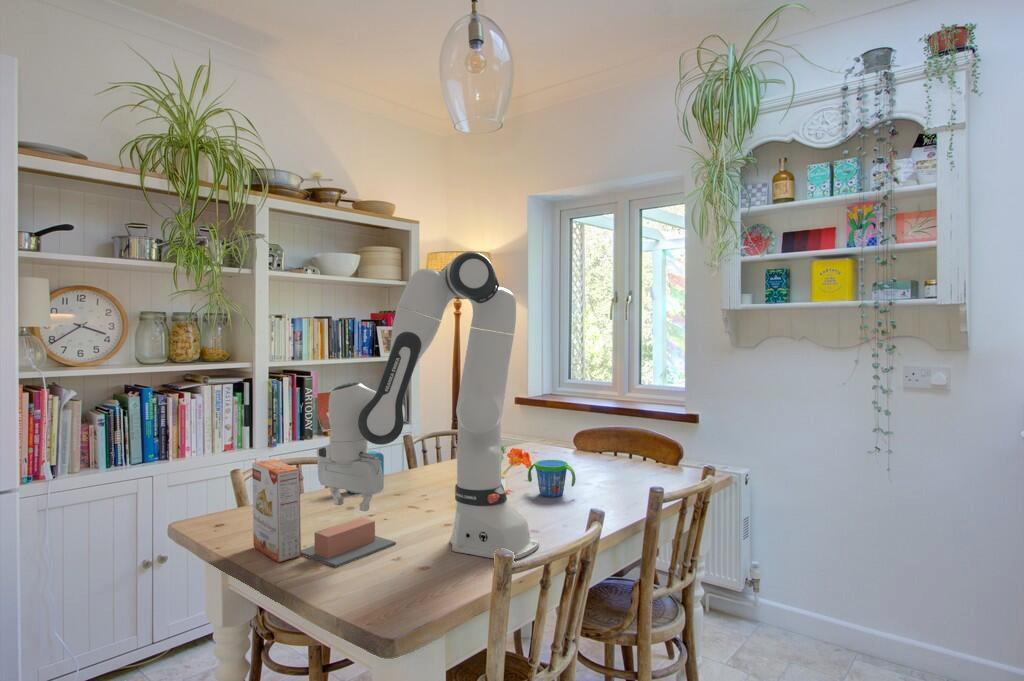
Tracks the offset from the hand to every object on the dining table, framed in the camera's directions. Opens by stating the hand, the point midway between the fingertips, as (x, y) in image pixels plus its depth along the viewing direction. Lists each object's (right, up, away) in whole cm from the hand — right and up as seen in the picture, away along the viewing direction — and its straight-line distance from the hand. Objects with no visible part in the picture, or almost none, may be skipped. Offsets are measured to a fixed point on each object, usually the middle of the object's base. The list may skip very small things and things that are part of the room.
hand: (351, 507), depth 148 cm
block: (-5, -7, -6) cm, 11 cm away
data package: (-10, -9, +53) cm, 55 cm away
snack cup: (+51, -9, +49) cm, 71 cm away
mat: (-1, -10, 0) cm, 10 cm away
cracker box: (-17, -10, -2) cm, 20 cm away
